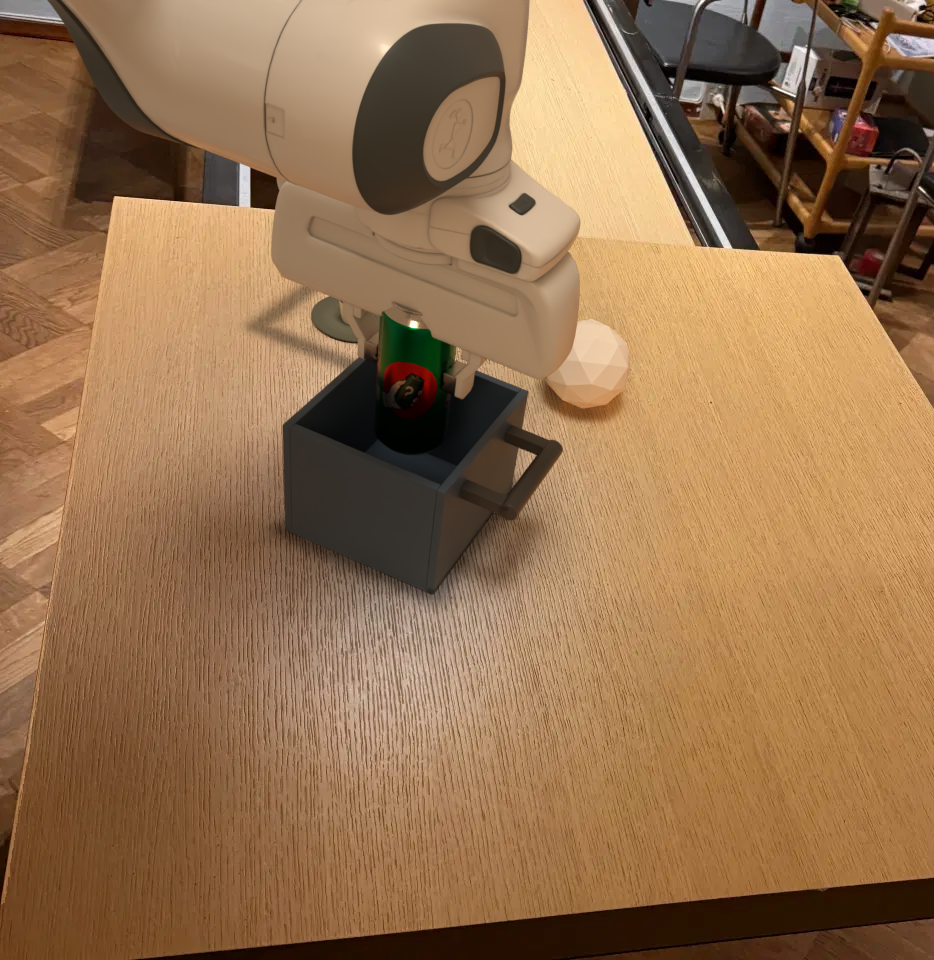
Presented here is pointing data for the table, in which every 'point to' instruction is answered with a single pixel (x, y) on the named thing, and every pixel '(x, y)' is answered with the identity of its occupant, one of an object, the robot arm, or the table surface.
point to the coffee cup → (333, 320)
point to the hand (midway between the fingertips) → (415, 374)
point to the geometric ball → (592, 366)
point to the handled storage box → (407, 476)
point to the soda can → (411, 383)
